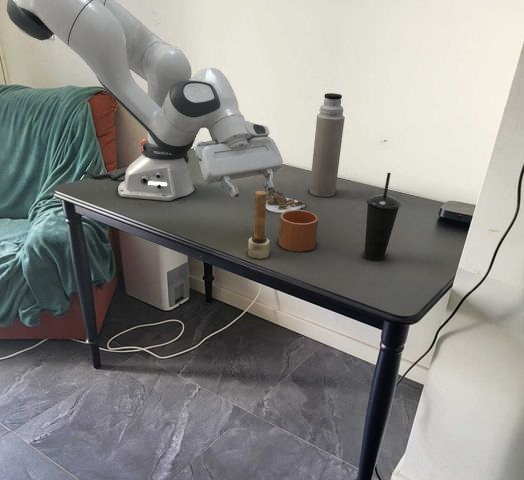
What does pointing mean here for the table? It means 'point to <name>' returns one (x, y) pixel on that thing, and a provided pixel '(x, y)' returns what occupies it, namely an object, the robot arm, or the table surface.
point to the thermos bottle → (327, 146)
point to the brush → (259, 229)
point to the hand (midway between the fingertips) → (253, 192)
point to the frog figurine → (282, 203)
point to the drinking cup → (380, 223)
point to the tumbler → (298, 230)
